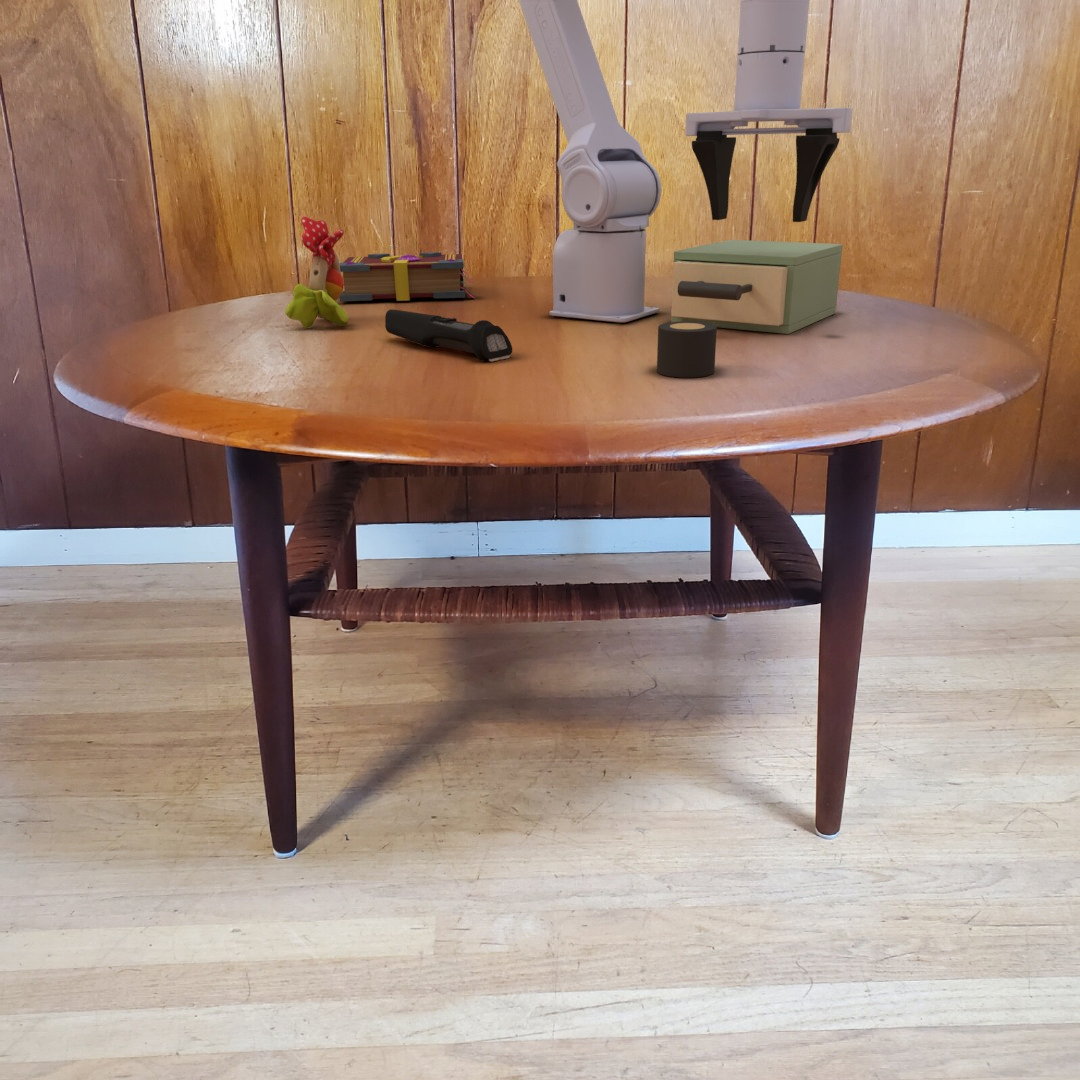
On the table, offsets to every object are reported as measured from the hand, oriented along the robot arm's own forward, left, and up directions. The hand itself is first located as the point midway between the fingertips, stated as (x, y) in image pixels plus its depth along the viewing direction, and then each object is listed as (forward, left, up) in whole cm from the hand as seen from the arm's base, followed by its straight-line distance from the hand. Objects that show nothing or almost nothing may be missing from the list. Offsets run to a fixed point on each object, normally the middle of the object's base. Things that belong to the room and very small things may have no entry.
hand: (758, 220), depth 85 cm
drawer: (-3, +4, -9) cm, 11 cm away
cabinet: (-3, +8, -10) cm, 13 cm away
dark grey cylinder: (+2, -18, -10) cm, 21 cm away
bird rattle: (-41, -17, -10) cm, 46 cm away
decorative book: (-47, +3, -10) cm, 48 cm away
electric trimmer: (-21, -21, -10) cm, 32 cm away
